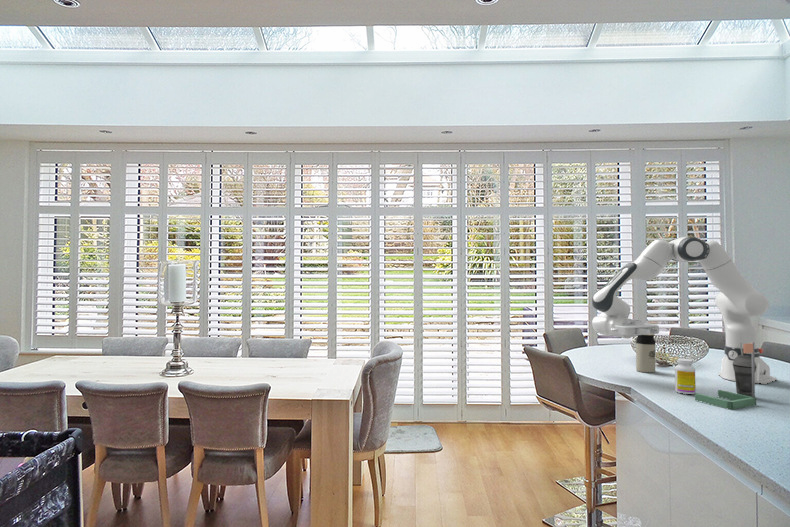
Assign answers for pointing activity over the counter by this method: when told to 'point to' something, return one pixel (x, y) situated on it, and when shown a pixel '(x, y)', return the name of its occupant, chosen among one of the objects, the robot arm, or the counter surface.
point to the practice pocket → (737, 399)
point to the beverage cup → (743, 374)
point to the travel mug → (645, 353)
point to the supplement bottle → (685, 377)
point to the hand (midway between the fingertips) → (653, 331)
